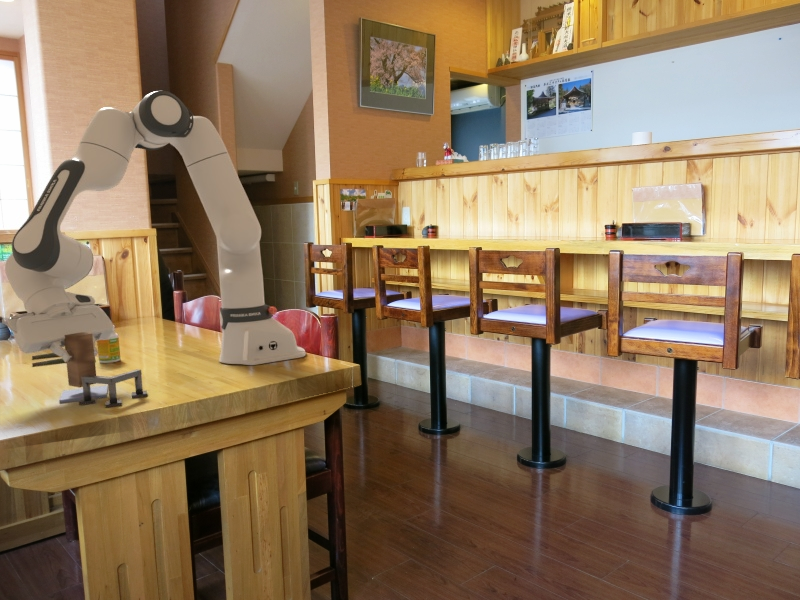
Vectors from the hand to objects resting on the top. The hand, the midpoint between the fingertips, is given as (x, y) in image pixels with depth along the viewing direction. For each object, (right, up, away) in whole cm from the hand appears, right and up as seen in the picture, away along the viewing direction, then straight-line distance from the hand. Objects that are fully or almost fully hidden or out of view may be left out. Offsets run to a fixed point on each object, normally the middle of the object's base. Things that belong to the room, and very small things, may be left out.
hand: (82, 357), depth 141 cm
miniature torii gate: (-26, -5, +43) cm, 51 cm away
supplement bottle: (-10, -5, +37) cm, 39 cm away
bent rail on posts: (+9, -9, -5) cm, 13 cm away
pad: (0, -8, +1) cm, 8 cm away
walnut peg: (0, -6, +1) cm, 6 cm away
